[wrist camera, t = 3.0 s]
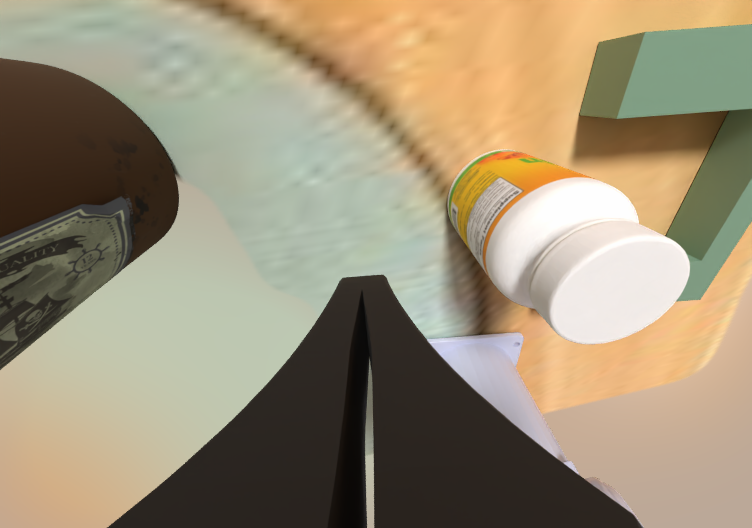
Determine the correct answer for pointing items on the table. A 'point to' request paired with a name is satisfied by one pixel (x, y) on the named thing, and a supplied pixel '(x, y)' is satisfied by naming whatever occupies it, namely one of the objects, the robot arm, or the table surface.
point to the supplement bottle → (565, 246)
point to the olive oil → (70, 196)
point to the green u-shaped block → (681, 96)
